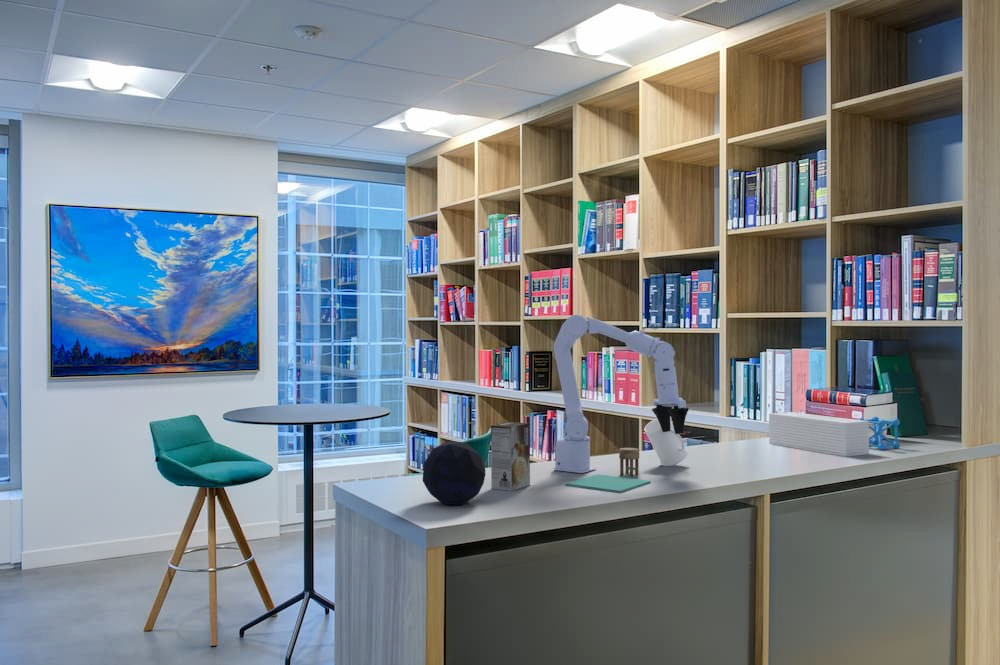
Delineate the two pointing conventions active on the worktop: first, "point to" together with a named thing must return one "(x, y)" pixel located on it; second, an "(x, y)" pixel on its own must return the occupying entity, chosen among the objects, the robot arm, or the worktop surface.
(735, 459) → the worktop surface
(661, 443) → the mug
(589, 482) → the teal mat
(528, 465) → the coffee box
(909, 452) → the worktop surface
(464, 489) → the decorative orb
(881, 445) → the molecular structure
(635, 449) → the walnut stool
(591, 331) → the robot arm
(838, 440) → the stack of papers
